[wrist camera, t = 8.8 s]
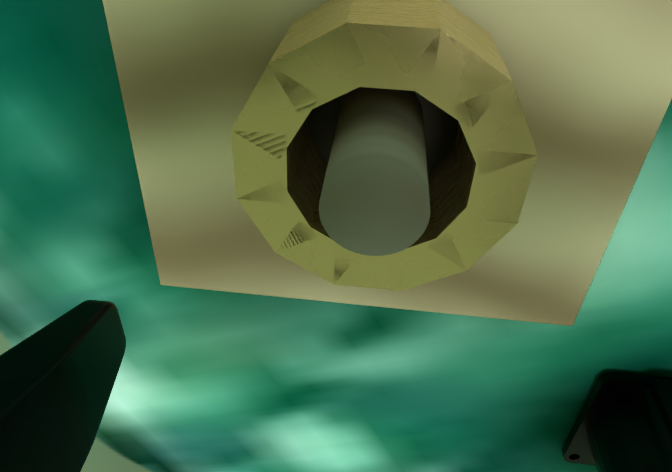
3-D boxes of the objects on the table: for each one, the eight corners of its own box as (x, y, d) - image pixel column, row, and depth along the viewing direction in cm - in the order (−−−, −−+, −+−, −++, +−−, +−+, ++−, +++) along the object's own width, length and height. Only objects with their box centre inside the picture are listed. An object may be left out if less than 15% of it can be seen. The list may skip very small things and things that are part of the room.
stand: (562, 298, 21) (620, 460, 16) (173, 261, 22) (97, 401, 17) (774, -226, 12) (1105, -288, 6) (81, -257, 13) (-170, -335, 7)
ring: (480, 226, 17) (494, 299, 15) (267, 207, 18) (243, 275, 15) (536, -4, 13) (572, 38, 10) (258, -21, 14) (220, 14, 11)
